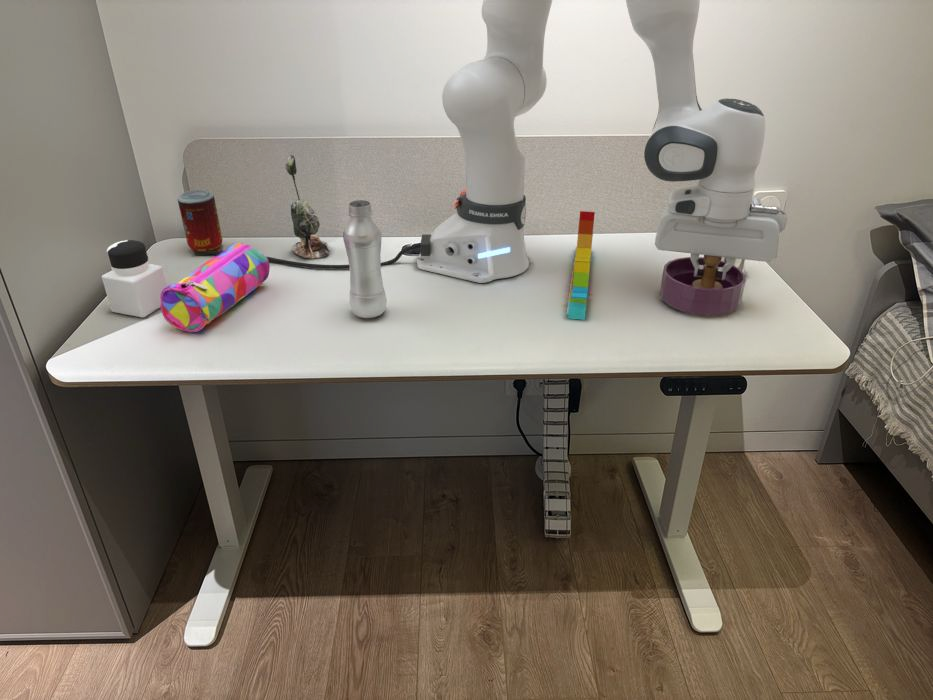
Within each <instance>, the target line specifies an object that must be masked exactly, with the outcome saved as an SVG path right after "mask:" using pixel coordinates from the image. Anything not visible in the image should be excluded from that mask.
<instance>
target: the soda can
mask: <svg viewBox="0 0 933 700" xmlns="http://www.w3.org/2000/svg"><path fill="white" fill-rule="evenodd" d="M214 195H215V194H213V193H212V192H210V191H209V190H208V189H207V190H206V189H191V190H187V191H185V192H182V193H181V194H180V195H179V196H178V197H177V203H178V208H179V212H180V218H181V222H182V226H183V230H184V234H185V239H186V243H187V246H188V248H190V250H191V251H192V253H193V254H194V255H198V256H208V255H209V254H195V251H221V249H222V248H221V247H222V244H223V234H222V231H221V225H220V220H219V215H218V209H217V205H216V199H215V196H214Z"/></svg>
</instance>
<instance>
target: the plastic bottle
mask: <svg viewBox="0 0 933 700" xmlns="http://www.w3.org/2000/svg"><path fill="white" fill-rule="evenodd" d="M372 215H373V210H372V203H371V201H369V200H365V199H356V200H352V201H350V202H349V203H348V216H349V217H350V218H349V219H348V221H347V223H346V225H345V227H344V229H343V231H342V233H343V234H342V239H343V243H344V248H345V252H346V255H347V261H348V265H349V268H348V269H349V295H348V296H349V297H348V299H349V300H348V302H349V306H350V310H351V312H352V313H353V314H354V315H355V316H357V317H359V318H362V319H371V318H372V319H373V318H376V317H377V318H378V317H379V316H381V315H382V314H384V312H385V310H386V308H387V302H388V299H387V295H386V290H385V288H384V282H383V276H382V269H381V268H382V266H381V265H380V263H382V262H381V261H382V260H381V254H382V253H381V251H382V231H381V228H380V227H379V225H378V224H377V222H376V221H375V219H373V218H372Z"/></svg>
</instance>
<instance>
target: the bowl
mask: <svg viewBox="0 0 933 700" xmlns="http://www.w3.org/2000/svg"><path fill="white" fill-rule="evenodd" d="M690 257H691V256H686V257H685V256H684V257H678V258H674V259H672V260H669V261H668V262H666V263H665V264H664V265H663V270H662V276H661V281H660V290H659V296H660V298H661V300H662V301H663V302H664V303H665V304H667V305H669V307H672V308H674V309H676V310H678V311H679V312H683V313H686V314H690V315H696V316H702V317H705V316H706V317H712V316H723V315H727V314H731V313H733V312H735V311H737V310H738V309H739V307H740V306H741V303H742V300H743V295H744V290H745V287H746V282H747V275H746V274H744V273H743V271H742V270H740V269H739V268H737V267H736V266H734V265H733V266H732V267H731V268H730V269H729V270H728V271H727V272H726V275H725V280H718V279H716V282H719V283H720V284H721V285H722V286H723V288H722V289H707V288H699V287H694V286H692V283H693V282H694V281H695V280H699V279H702V277H694V270H695V268H694V266H693V264H692V262H691V259H690ZM698 263H699V265H705V262H704V256H703V257H702V256H699V259H698ZM725 264H726V262H724V261H721V262H720V263H719V264H718V265H717V266H718V267H723V266H724V265H725Z"/></svg>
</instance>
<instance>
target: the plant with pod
mask: <svg viewBox="0 0 933 700" xmlns="http://www.w3.org/2000/svg"><path fill="white" fill-rule="evenodd" d="M284 166H285V170H286V172H287V174H288V175H289V176H291V178H292V180H293V184H294V187H295V191H296V192H295V193H296V195H297V200H296V201H294V202H292V203H291V204H290V216H291V221H292V224H293V226H292V227H293V234H294V236H295V237H297V238H299V239H300V241H297V242H295V246H294V248H292V251H291V252H292V253H295V254H296V255H297V256H299V257H300V258H302V259H307V260H308V259H309V260H314V259H319V258H324V257H326V256H328V255H329V254H330V251H331V250H330V248H331V247H330V246H329V244H328V243H327V242H325V241H323V240H321V239H320V237H319V235H317V233H318V232H319V229H320V226H321V223H320V218H319V217H318V214H317V213H316V211H315V210H314V208H313V207H312V206H311V205H310V204H309V203H308V202H307V201H306V200H301V199H300V195H299V190H298V187H297V184H296V178H295V177H296V176H295V175H296V174H297V170H298V169H297V163H296V158H295V156H294V155H292V154H289V155H288V158H287V159H286V162H285V165H284Z"/></svg>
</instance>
